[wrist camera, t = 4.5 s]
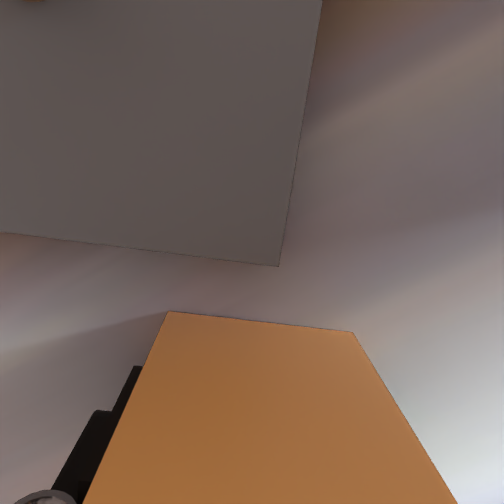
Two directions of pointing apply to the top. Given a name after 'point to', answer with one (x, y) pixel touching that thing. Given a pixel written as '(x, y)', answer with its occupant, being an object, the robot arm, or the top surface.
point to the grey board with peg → (154, 122)
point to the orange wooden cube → (262, 423)
